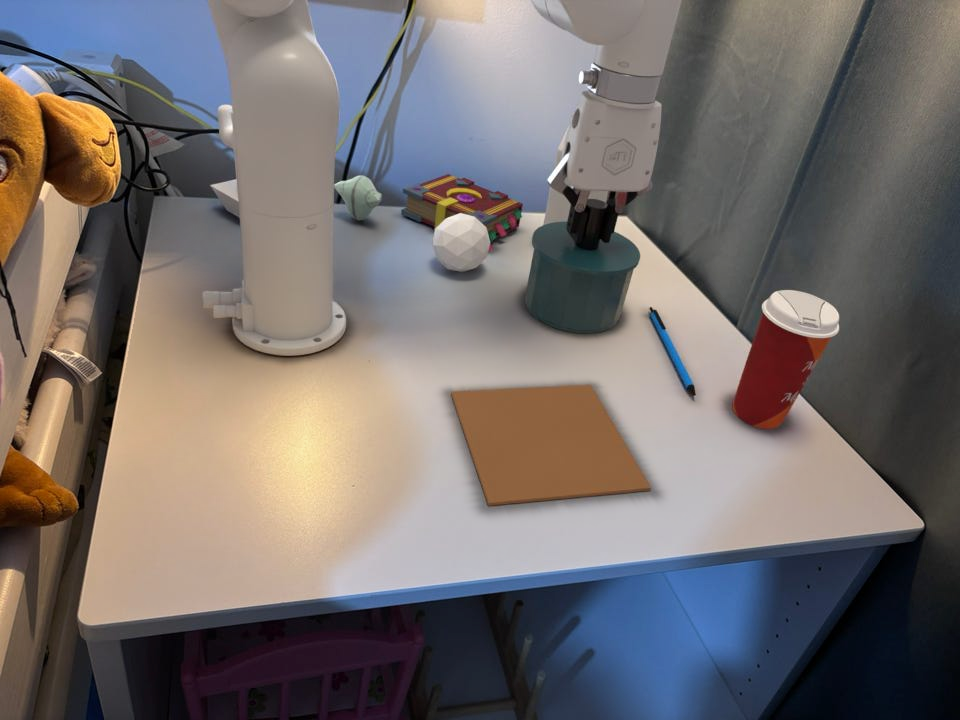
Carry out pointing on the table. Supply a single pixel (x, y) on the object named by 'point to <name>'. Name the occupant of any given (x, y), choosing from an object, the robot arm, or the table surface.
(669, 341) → the pen
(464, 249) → the geometric ball
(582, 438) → the mat
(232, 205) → the figurine
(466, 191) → the decorative book
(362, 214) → the pale green seashell
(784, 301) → the paper cup
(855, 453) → the table surface
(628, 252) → the lid
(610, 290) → the pot
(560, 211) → the milk carton
